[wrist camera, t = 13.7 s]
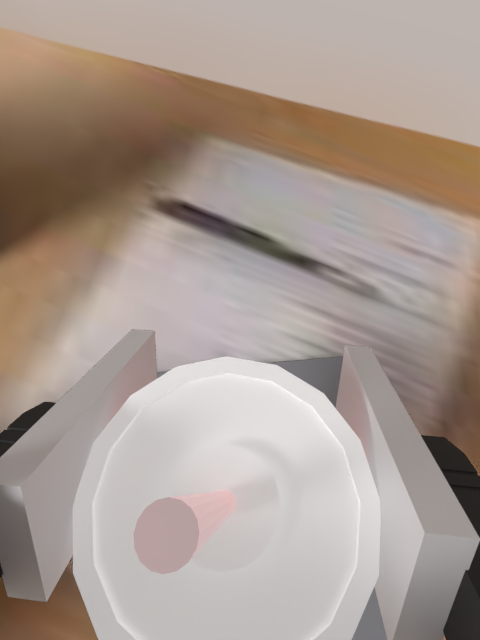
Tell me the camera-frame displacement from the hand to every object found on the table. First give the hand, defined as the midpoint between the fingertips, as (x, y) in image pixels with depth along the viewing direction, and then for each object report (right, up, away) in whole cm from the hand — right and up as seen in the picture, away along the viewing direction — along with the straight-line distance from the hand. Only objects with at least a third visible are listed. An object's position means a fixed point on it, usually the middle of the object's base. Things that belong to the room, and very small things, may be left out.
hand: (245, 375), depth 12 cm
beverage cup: (0, -6, +4) cm, 7 cm away
